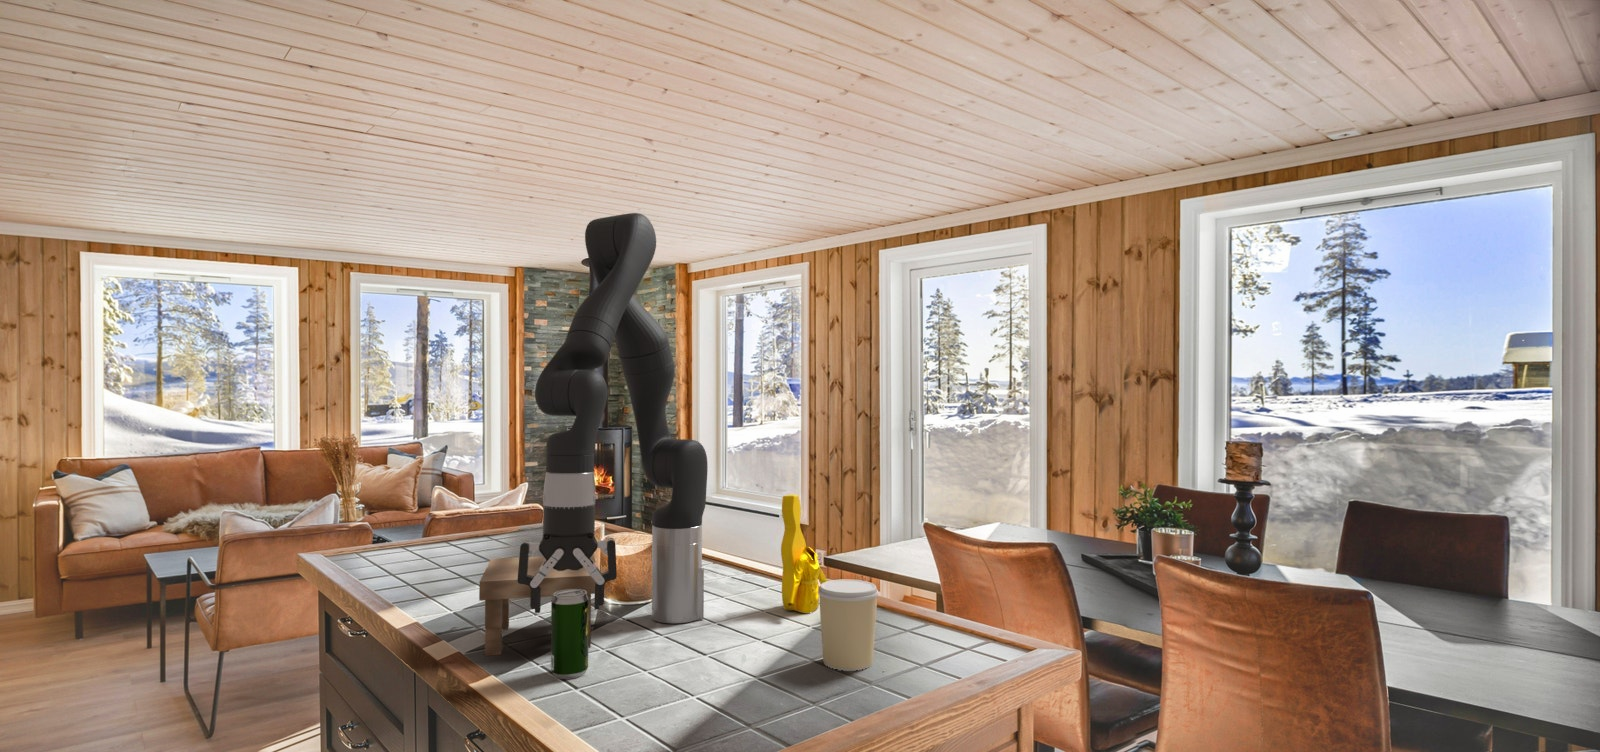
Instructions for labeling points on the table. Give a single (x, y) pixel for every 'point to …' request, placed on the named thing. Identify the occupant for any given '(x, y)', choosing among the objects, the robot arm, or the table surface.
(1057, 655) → the table surface
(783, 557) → the yellow raincoat figure
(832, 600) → the coffee cup
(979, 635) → the table surface
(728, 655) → the table surface
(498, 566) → the walnut stool
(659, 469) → the robot arm
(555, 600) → the beer can
